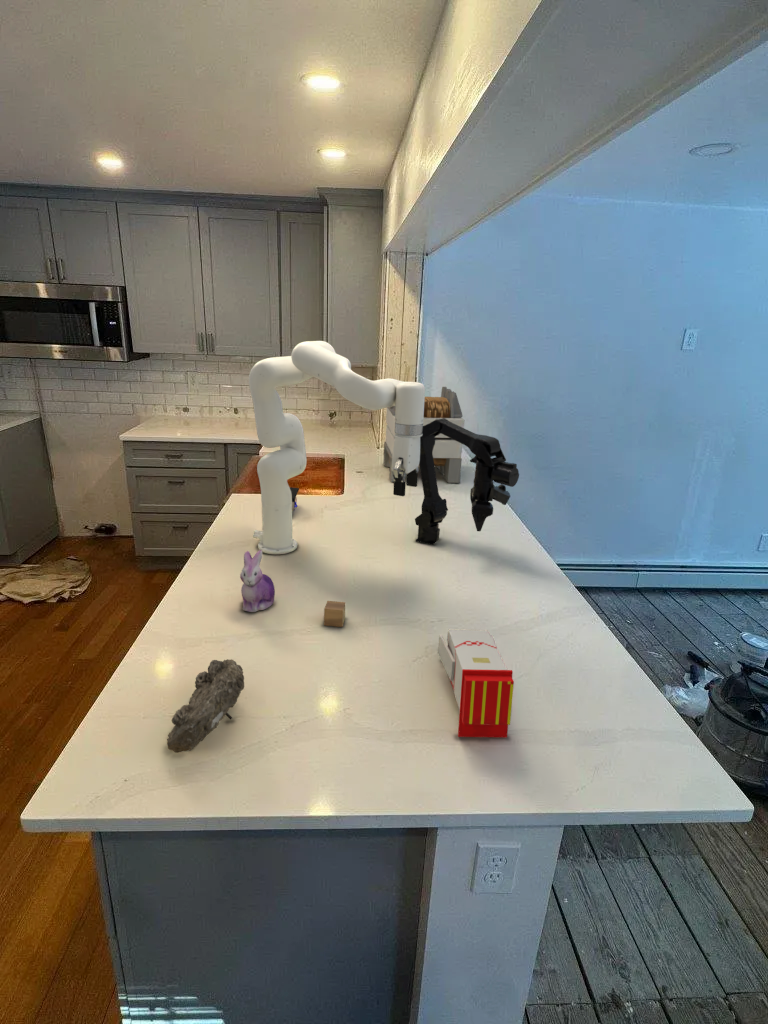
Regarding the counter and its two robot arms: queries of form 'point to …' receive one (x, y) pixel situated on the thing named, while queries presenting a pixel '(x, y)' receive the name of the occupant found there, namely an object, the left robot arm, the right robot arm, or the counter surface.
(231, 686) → the fossil
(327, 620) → the brown wooden cube
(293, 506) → the figurine character
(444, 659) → the toy
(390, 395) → the left robot arm
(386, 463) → the transformer
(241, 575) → the figurine
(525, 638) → the counter surface
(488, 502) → the right robot arm
